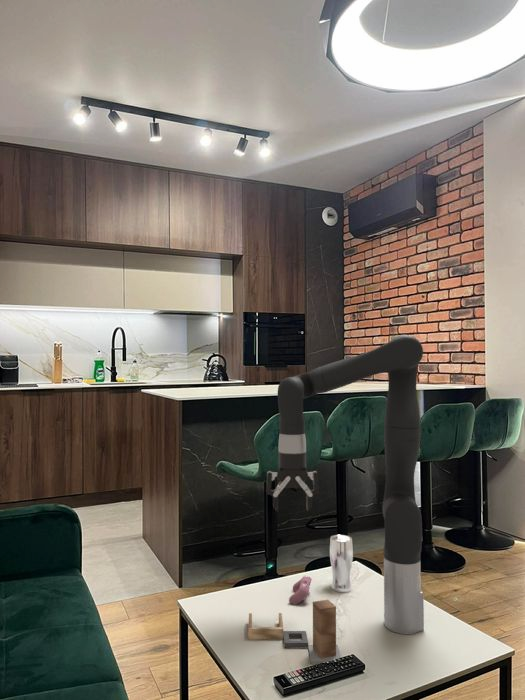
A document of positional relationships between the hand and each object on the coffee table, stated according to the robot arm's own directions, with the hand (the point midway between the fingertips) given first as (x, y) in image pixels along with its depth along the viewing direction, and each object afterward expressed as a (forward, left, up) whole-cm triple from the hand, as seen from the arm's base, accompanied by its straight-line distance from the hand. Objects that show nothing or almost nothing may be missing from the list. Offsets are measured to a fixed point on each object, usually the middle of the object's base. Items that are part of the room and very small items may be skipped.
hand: (292, 510), depth 140 cm
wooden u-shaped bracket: (+8, +8, -28) cm, 30 cm away
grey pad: (-6, +19, -28) cm, 35 cm away
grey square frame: (0, +13, -28) cm, 31 cm away
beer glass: (-16, -17, -28) cm, 37 cm away
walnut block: (-6, +19, -27) cm, 34 cm away
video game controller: (-3, -11, -28) cm, 30 cm away
